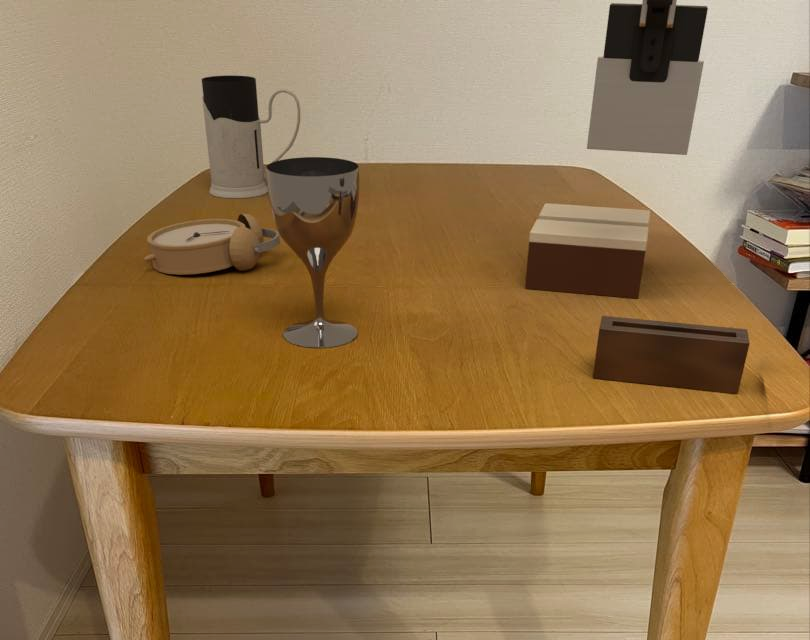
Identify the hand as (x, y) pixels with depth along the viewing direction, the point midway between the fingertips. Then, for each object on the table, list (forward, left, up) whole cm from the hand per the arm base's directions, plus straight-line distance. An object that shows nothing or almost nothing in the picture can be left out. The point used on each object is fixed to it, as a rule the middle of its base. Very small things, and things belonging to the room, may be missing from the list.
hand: (648, 77), depth 77 cm
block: (-5, +15, -21) cm, 27 cm away
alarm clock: (+46, -5, -22) cm, 51 cm away
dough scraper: (0, 0, -6) cm, 6 cm away
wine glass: (+27, +13, -22) cm, 37 cm away
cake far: (+4, -15, -21) cm, 27 cm away
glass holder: (+55, -39, -22) cm, 70 cm away
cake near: (+4, -8, -21) cm, 23 cm away
